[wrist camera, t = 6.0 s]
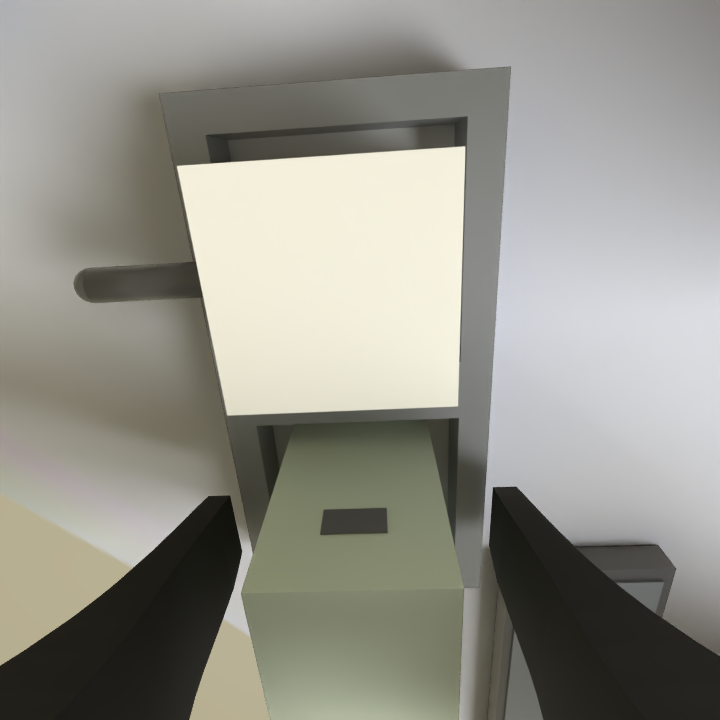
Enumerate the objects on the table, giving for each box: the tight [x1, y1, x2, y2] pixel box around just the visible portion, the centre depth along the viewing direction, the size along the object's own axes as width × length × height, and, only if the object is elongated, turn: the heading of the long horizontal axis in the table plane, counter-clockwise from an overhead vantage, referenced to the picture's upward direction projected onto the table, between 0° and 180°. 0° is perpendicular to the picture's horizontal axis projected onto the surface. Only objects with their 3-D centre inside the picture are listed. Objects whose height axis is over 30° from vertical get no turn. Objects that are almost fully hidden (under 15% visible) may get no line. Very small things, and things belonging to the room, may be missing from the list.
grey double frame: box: [159, 67, 511, 588], centre depth 12 cm, size 7×14×2 cm, turn 3°
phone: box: [487, 545, 676, 720], centre depth 17 cm, size 6×11×1 cm, turn 3°
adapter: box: [74, 146, 465, 416], centre depth 9 cm, size 7×4×5 cm, turn 93°
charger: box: [241, 419, 464, 720], centre depth 11 cm, size 4×4×6 cm
